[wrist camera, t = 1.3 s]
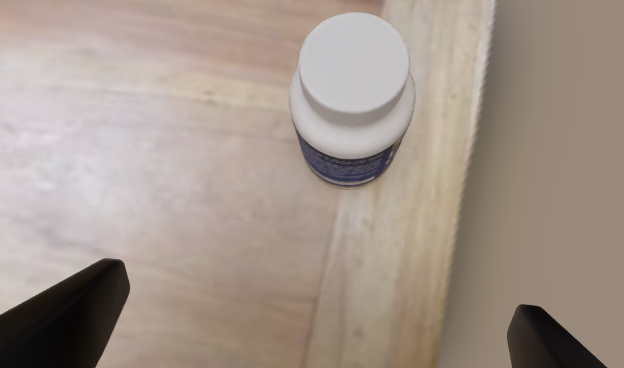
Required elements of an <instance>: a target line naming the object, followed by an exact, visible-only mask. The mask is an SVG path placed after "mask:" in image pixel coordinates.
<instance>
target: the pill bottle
mask: <svg viewBox="0 0 624 368" xmlns="http://www.w3.org/2000/svg"><path fill="white" fill-rule="evenodd" d="M409 69H410V57H409V51H408V48H407V45H406V43H405V41H404V39H403V37H402V36H401V34H400V33H399V32H398V31H397V29H396V28H394V27H393V26H392V25H391V24H390V23H388V22H387V21H385V20H384V19H382V18H380V17H377V16H374V15H371V14H367V13H359V12H350V13H343V14H339V15H335V16H333V17H330V18H328V19H326V20H324V21H323V22H321V23H320V24H319V25H317V26H316V27H315V28H314V29H313V30H312V31H311V32H310V33H309V35H308V36H307V37H306V39H305V41H304V42H303V45H302V47H301V50H300V54H299V60H298V66H297V68H296V70H295V72H294V74H293V77H292V80H291V83H290V88H289V106H290V111H291V115H292V120H293V123H294V126H295V129H296V133H297V136H298V139H299V142H300V146H301V149H302V153H303V156H304V159H305V161H306V163H307V165H308V167H309V168H310V170H311V171H312V172H313V173H314V174H315V175H316V176H317V177H318V178H319V179H320V180H321V181H323V182H325V183H326V184H328V185H331V186H333V187H337V188H342V189H355V188H360V187H363V186H366V185H368V184H370V183H372V182H374V181H376V180H377V179H378V178H380V177H381V176H382V175H383V174H384V173H385V171H386V170H387V169H388V167H389V166H390V164H391V163H392V161H393V159H394V156H395V154H396V152H397V150H398V148H399V146H400V144H401V141H402V139H403V136H404V134H405V132H406V130H407V128H408V126H409V123H410V121H411V118H412V115H413V112H414V107H415V87H414V82H413V79H412V76H411V73H410V71H409Z"/></svg>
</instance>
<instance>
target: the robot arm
mask: <svg viewBox="0 0 624 368" xmlns="http://www.w3.org/2000/svg"><path fill="white" fill-rule="evenodd" d="M129 292H130V283H129V280H128V276H127V272H126V268H125V265H124V263H123V261H122V260H119V259H111V258H104V259H102V260H100V261H98V262H96V263H94V264H92V265H90V266H89V267H87V268H85V269H83V270H81V271H80V272H78V273H76V274H74V275H72V276H70V277H69V278H67V279H65V280H63V281H61V282H59V283H58V284H56V285H54V286H52V287H50V288H49V289H47V290H45V291H43V292H41V293H39V294H38V295H36V296H34V297H32V298H30V299H28V300H27V301H25V302H23V303H21V304H19V305H17V306H16V307H14V308H12V309H10V310H8V311H7V312H5V313H3V314H1V315H0V368H95V367H96V365H97V363H98V361H99V360H100V358H101V356H102V354H103V352H104V350H105V348H106V345H107V343H108V341H109V339H110V336H111V334H112V332H113V330H114V327H115V325H116V323H117V320H118V318H119V316H120V314H121V311H122V309H123V307H124V304H125V302H126V300H127V298H128V295H129ZM507 340H508V346H509V352H510V358H511V363H512V368H607V367H606V366H605V365H604V364H603V363H602V362H600V361H599V360H598V359H597V358H596V357H595V356H594V355H593V354H592V353H591V352H590V351H588V350H587V349H586V348H585V347H584V346H583V345H582V344H581V343H580V342H579V341H578V340H576V339H575V338H574V337H573V336H572V335H571V334H570V333H569V332H568V331H567V330H565V329H564V328H563V327H562V326H561V325H560V324H559V323H558V322H556V320H555V319H553V318H552V317H551V316H550V315H549V314H548V313H547V312H546V311H545V310H544V309H542V308H541V307H539V306H533V305H525V304H522V305H519V306H518V307H517V308H516V311H515V313H514V316H513V318H512V321H511V323H510V326H509V328H508V332H507Z"/></svg>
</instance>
